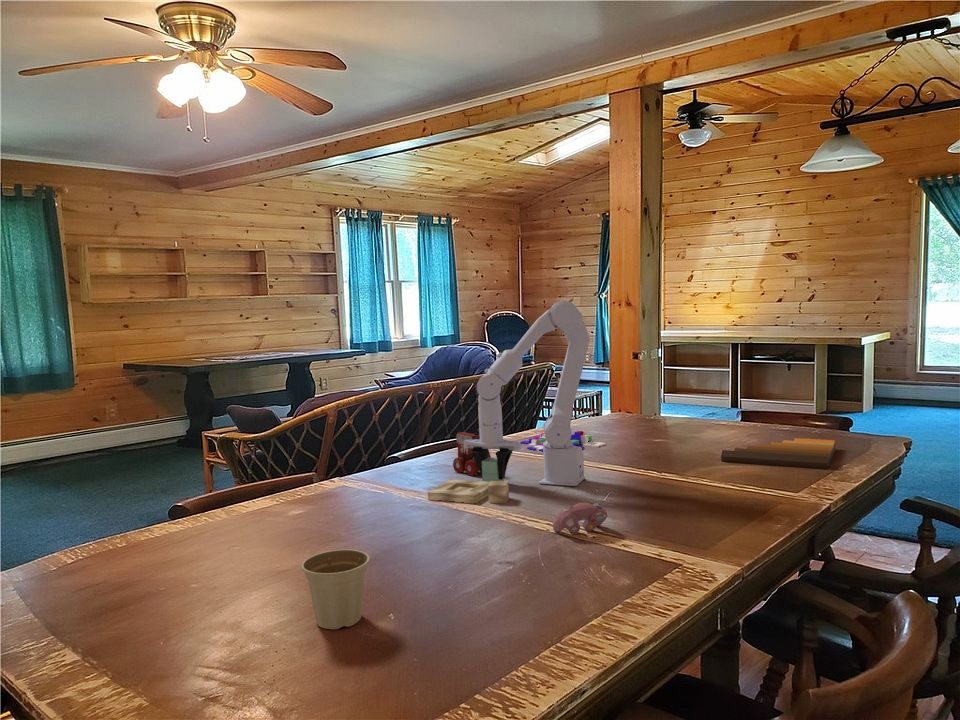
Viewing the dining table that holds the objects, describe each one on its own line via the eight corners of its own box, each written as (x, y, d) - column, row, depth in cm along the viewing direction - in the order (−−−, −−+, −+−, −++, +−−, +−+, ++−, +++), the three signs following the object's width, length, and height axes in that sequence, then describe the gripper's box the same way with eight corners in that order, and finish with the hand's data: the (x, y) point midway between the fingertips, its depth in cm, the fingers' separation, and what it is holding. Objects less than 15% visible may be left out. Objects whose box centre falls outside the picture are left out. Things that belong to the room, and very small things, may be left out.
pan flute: (721, 464, 179) (827, 471, 166) (720, 451, 178) (827, 458, 165) (739, 445, 200) (835, 451, 187) (739, 434, 200) (835, 439, 187)
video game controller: (558, 544, 127) (563, 516, 124) (549, 527, 131) (554, 499, 127) (606, 537, 130) (612, 509, 126) (596, 520, 134) (602, 493, 130)
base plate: (496, 489, 162) (496, 482, 162) (475, 503, 151) (475, 495, 151) (451, 486, 167) (451, 479, 167) (428, 499, 156) (427, 492, 156)
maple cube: (508, 498, 155) (508, 480, 154) (506, 503, 151) (505, 485, 150) (491, 498, 155) (490, 480, 155) (488, 503, 151) (488, 485, 151)
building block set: (506, 449, 211) (505, 435, 211) (544, 438, 227) (544, 424, 226) (574, 457, 195) (574, 442, 195) (610, 444, 210) (610, 430, 210)
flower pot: (377, 603, 101) (373, 547, 100) (368, 633, 92) (365, 571, 91) (313, 607, 101) (309, 550, 100) (298, 638, 91) (294, 575, 91)
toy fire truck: (479, 478, 174) (477, 438, 173) (449, 471, 184) (447, 433, 183) (499, 473, 178) (497, 434, 178) (469, 466, 188) (467, 429, 187)
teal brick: (504, 482, 169) (503, 458, 168) (497, 486, 165) (496, 462, 165) (489, 481, 170) (488, 457, 170) (482, 485, 167) (481, 461, 166)
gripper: (524, 421, 167) (526, 475, 168) (471, 420, 173) (473, 472, 174) (513, 426, 161) (516, 482, 162) (458, 424, 167) (461, 479, 168)
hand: (493, 478), depth 168 cm, fingers closed on teal brick, 4 cm apart
